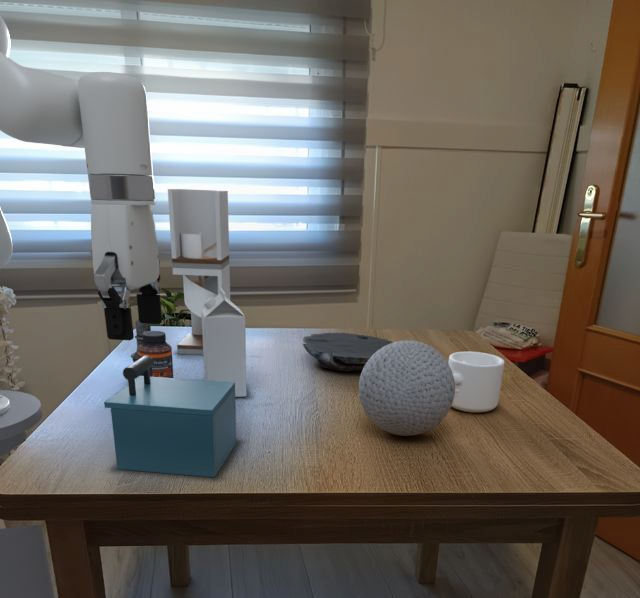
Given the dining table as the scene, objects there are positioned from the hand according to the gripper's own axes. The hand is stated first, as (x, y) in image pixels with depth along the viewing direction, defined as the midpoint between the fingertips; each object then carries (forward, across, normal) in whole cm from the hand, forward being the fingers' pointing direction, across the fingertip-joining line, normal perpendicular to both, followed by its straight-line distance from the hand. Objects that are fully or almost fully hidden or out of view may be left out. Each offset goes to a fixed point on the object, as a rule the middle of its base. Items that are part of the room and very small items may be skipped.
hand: (136, 330), depth 76 cm
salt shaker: (+18, -37, -15) cm, 44 cm away
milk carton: (+18, -28, +4) cm, 33 cm away
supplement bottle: (+18, -25, -8) cm, 32 cm away
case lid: (+9, 0, +4) cm, 10 cm away
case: (+18, 0, +5) cm, 19 cm away
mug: (+19, -31, +49) cm, 61 cm away
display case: (+18, -58, -9) cm, 61 cm away
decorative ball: (+18, -15, +37) cm, 44 cm away
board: (+18, -52, +26) cm, 61 cm away
